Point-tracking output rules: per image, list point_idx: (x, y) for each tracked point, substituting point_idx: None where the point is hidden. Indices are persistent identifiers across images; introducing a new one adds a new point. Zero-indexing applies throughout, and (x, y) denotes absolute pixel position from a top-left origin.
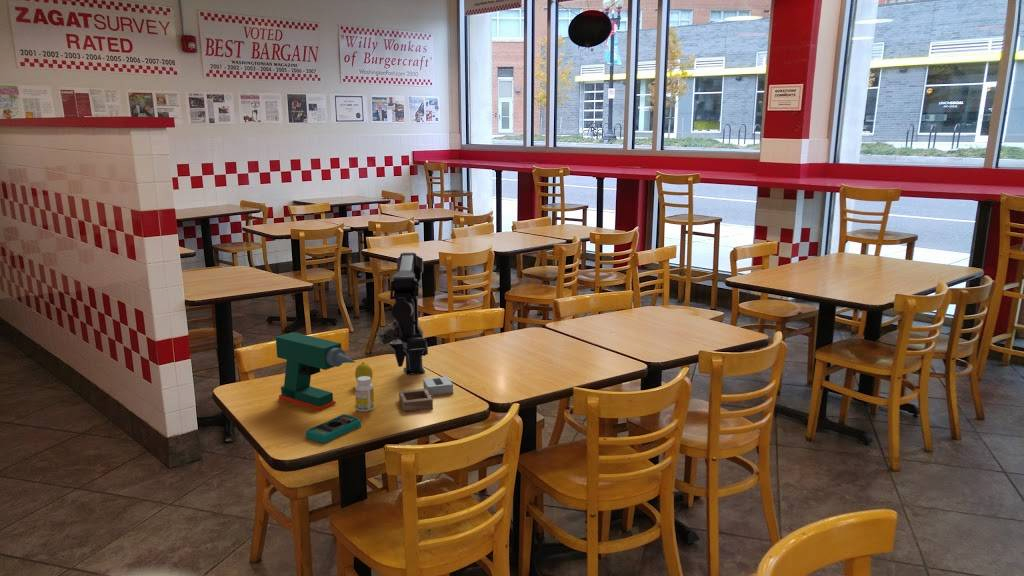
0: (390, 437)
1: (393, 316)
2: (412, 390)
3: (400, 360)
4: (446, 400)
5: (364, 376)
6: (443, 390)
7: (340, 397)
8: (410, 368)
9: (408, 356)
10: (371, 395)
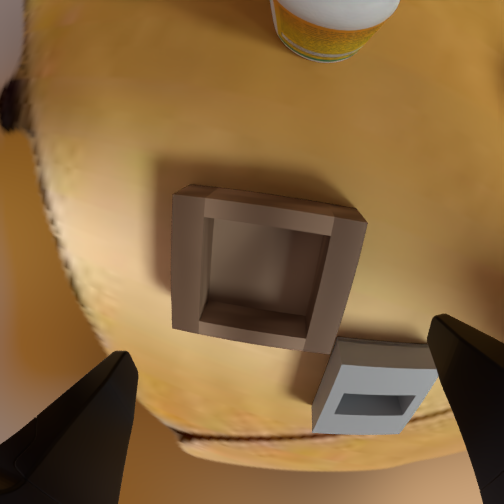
0: (17, 98)
1: None
2: (341, 292)
3: (459, 371)
4: (256, 372)
5: None
6: (321, 394)
7: (487, 7)
8: (95, 367)
9: (9, 457)
10: (281, 18)
